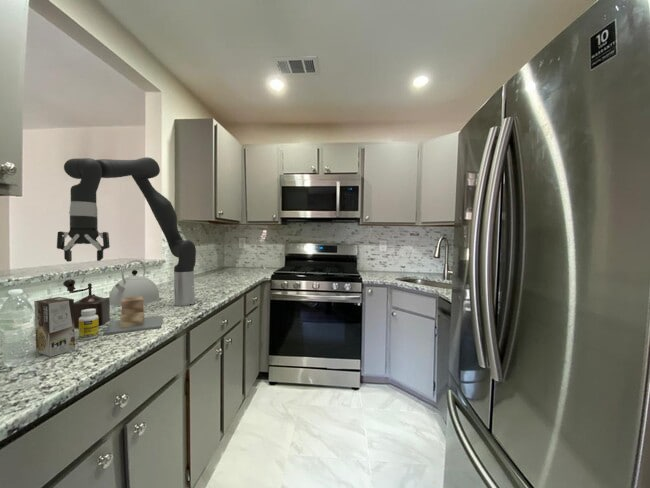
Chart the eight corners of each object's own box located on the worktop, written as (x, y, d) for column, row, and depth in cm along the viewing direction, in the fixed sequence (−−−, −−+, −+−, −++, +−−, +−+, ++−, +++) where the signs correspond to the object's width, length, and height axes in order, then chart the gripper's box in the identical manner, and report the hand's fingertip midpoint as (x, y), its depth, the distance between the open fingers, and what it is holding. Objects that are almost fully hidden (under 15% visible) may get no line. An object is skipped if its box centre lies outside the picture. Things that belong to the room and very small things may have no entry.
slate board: (162, 317, 125) (162, 315, 125) (160, 328, 111) (160, 326, 111) (112, 323, 117) (112, 321, 116) (103, 335, 102) (103, 333, 102)
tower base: (144, 320, 118) (143, 308, 118) (142, 325, 112) (142, 312, 111) (123, 322, 115) (123, 310, 114) (120, 327, 108) (120, 314, 108)
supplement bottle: (82, 341, 97) (81, 312, 96) (76, 338, 100) (75, 310, 99) (101, 336, 101) (100, 309, 101) (95, 333, 104) (94, 307, 104)
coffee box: (76, 349, 90) (74, 298, 89) (49, 357, 84) (48, 303, 83) (61, 344, 94) (60, 296, 93) (35, 352, 88) (33, 300, 87)
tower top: (142, 308, 118) (142, 296, 118) (143, 312, 112) (143, 299, 112) (121, 310, 114) (121, 298, 114) (121, 314, 108) (121, 301, 108)
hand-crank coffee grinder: (111, 318, 123) (110, 276, 123) (101, 326, 113) (100, 281, 112) (67, 321, 118) (66, 278, 117) (52, 330, 108) (50, 283, 107)
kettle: (138, 308, 141) (138, 262, 140) (93, 307, 141) (92, 262, 140) (167, 297, 166) (167, 258, 165) (129, 296, 166) (128, 258, 165)
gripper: (111, 216, 107) (111, 259, 107) (62, 215, 101) (63, 260, 102) (105, 215, 100) (105, 261, 100) (52, 213, 94) (53, 262, 95)
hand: (84, 261), depth 101 cm, fingers open, 8 cm apart
